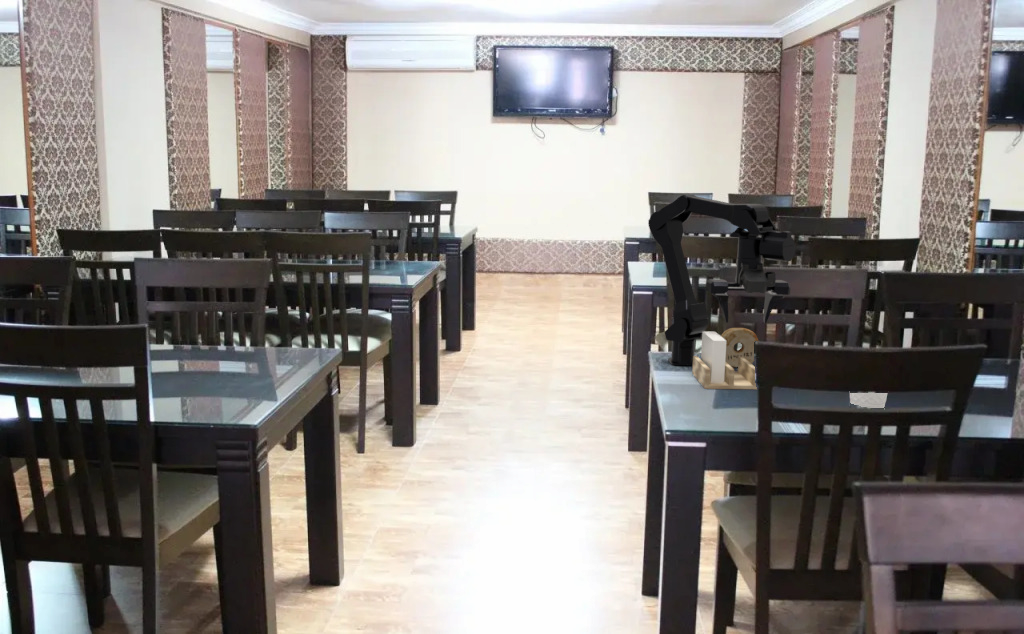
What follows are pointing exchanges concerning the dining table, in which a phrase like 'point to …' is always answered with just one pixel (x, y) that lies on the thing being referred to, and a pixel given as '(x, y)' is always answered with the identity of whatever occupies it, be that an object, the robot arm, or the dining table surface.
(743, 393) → the dining table surface
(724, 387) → the plate rack
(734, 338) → the stone disc
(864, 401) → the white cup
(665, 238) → the robot arm
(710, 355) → the white block
